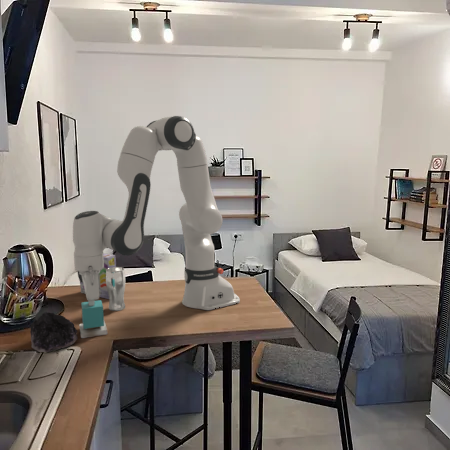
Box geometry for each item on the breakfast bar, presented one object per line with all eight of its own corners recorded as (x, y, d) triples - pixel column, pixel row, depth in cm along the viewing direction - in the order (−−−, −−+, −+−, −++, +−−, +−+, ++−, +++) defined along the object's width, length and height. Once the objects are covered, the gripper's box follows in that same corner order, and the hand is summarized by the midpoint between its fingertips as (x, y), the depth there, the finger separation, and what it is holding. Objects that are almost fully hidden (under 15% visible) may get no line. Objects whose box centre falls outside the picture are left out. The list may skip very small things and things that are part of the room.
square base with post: (104, 324, 138) (103, 300, 137) (107, 334, 131) (106, 308, 129) (79, 328, 135) (78, 303, 134) (81, 338, 128) (79, 312, 126)
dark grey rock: (75, 353, 120) (76, 320, 119) (25, 355, 116) (26, 321, 115) (78, 337, 133) (79, 307, 132) (32, 339, 129) (33, 308, 128)
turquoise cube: (102, 318, 137) (101, 300, 135) (104, 325, 131) (103, 306, 130) (82, 321, 134) (81, 302, 133) (83, 329, 129) (82, 309, 127)
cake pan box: (77, 292, 170) (75, 251, 167) (87, 289, 175) (85, 249, 172) (110, 301, 160) (108, 257, 157) (119, 297, 165) (117, 254, 162)
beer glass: (121, 312, 149) (119, 272, 146) (103, 310, 150) (101, 271, 148) (129, 305, 156) (128, 267, 153) (112, 304, 157) (110, 266, 155)
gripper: (103, 270, 121) (105, 314, 123) (96, 254, 139) (98, 293, 142) (80, 272, 118) (83, 317, 121) (77, 256, 137) (79, 295, 139)
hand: (91, 304), depth 131 cm, fingers closed, pressing on turquoise cube
